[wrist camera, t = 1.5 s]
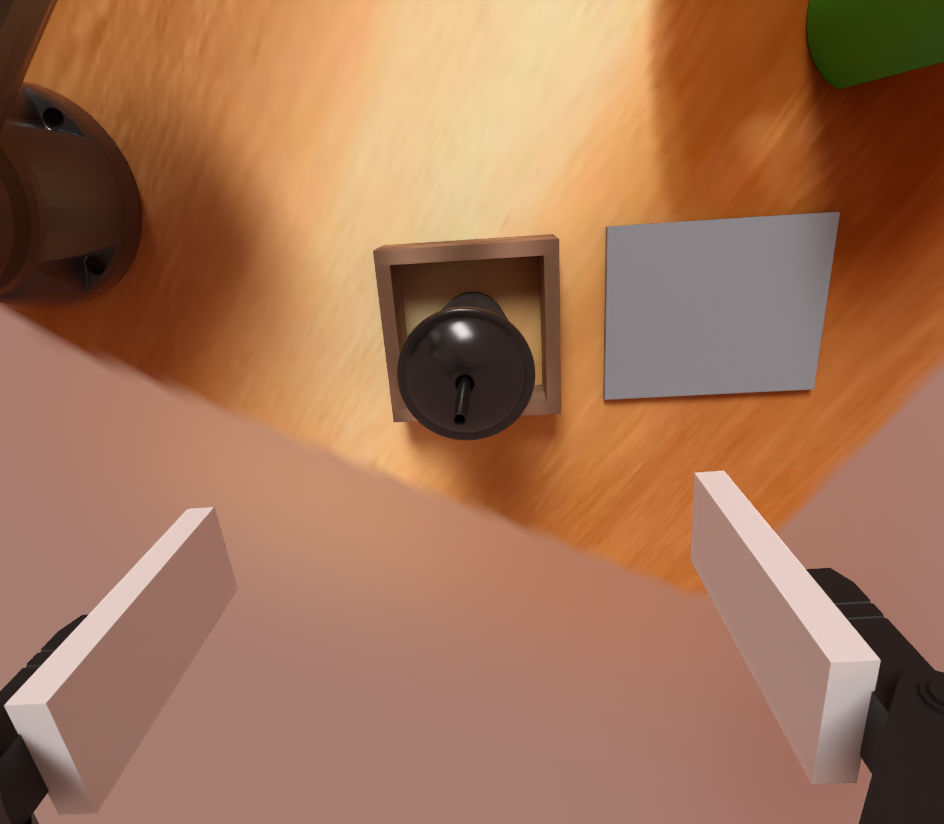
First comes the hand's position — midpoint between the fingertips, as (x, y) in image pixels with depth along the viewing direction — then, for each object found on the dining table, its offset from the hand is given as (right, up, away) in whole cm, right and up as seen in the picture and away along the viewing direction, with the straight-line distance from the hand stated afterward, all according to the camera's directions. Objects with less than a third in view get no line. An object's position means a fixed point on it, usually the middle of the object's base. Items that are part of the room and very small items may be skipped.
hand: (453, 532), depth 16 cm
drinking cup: (+1, +10, +29) cm, 31 cm away
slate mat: (+19, +11, +28) cm, 35 cm away
